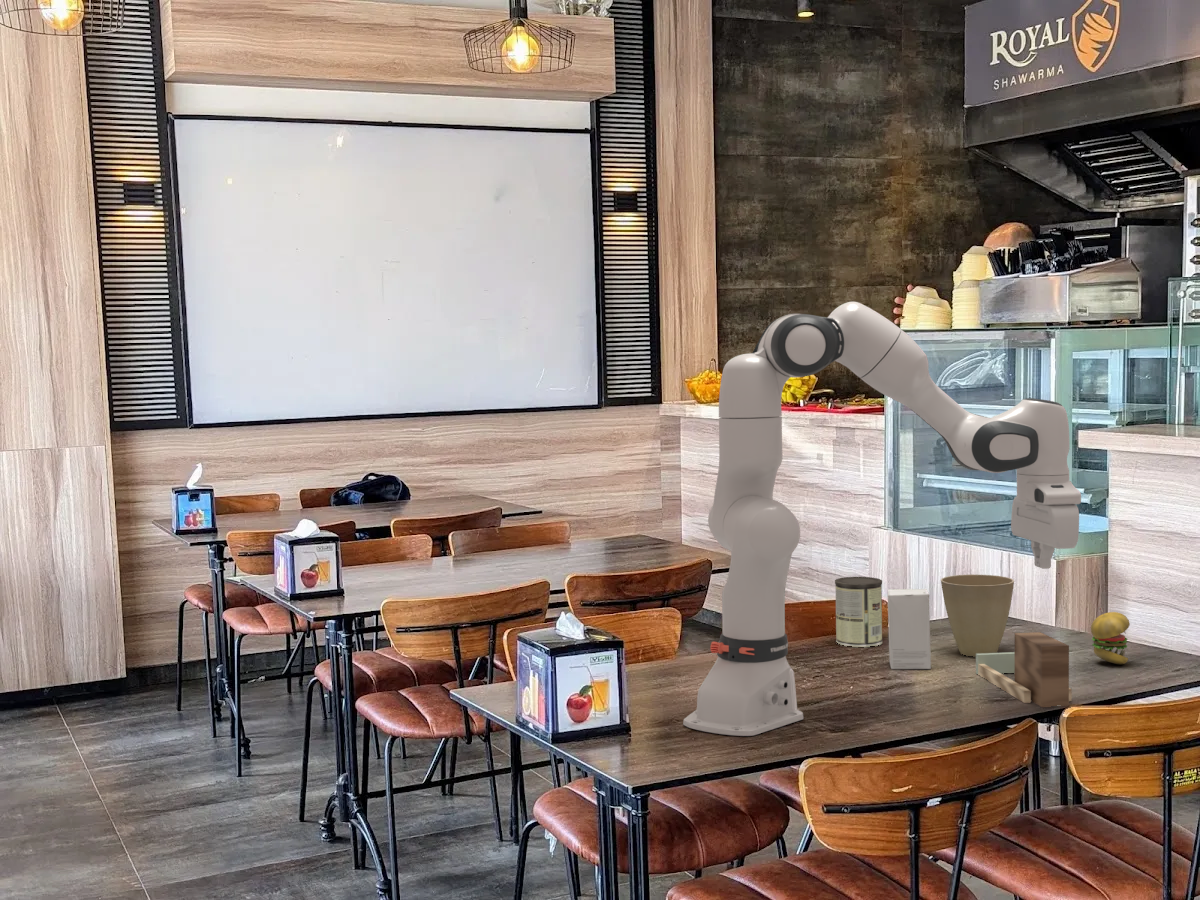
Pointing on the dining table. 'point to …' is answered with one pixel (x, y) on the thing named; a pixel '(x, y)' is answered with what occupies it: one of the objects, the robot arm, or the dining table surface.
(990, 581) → the plant pot
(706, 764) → the dining table surface
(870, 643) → the coffee can
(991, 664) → the end stop
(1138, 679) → the dining table surface
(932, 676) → the dining table surface
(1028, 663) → the block
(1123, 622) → the hamburger
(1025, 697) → the chute
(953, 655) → the dining table surface
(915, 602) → the skincare box
